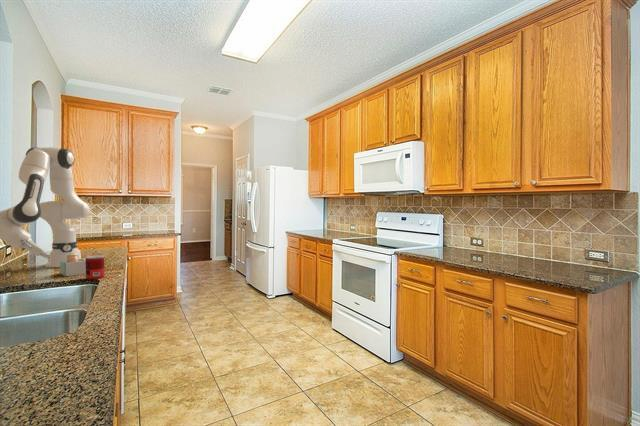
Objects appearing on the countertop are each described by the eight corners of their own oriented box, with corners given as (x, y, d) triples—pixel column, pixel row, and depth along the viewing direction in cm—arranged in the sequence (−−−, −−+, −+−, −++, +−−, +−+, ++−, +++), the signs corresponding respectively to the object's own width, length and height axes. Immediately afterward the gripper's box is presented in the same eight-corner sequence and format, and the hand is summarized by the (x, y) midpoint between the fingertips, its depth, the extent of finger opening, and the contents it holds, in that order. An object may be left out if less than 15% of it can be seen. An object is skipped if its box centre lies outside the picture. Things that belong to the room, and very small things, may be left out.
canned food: (108, 276, 172) (107, 255, 171) (96, 279, 164) (95, 257, 163) (94, 275, 172) (94, 254, 172) (82, 279, 164) (81, 257, 164)
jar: (65, 270, 176) (65, 254, 176) (76, 269, 180) (76, 253, 180) (69, 271, 173) (69, 254, 173) (79, 270, 177) (79, 253, 177)
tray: (60, 273, 176) (60, 260, 176) (82, 270, 184) (82, 258, 183) (64, 276, 170) (63, 262, 170) (87, 273, 177) (86, 260, 177)
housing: (62, 273, 178) (61, 260, 177) (84, 270, 185) (84, 258, 185) (66, 276, 170) (66, 263, 170) (89, 273, 178) (89, 260, 177)
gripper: (29, 236, 156) (56, 254, 164) (23, 232, 170) (48, 249, 177) (16, 247, 153) (44, 264, 161) (12, 242, 167) (38, 258, 174)
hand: (46, 256), depth 169 cm, fingers closed
